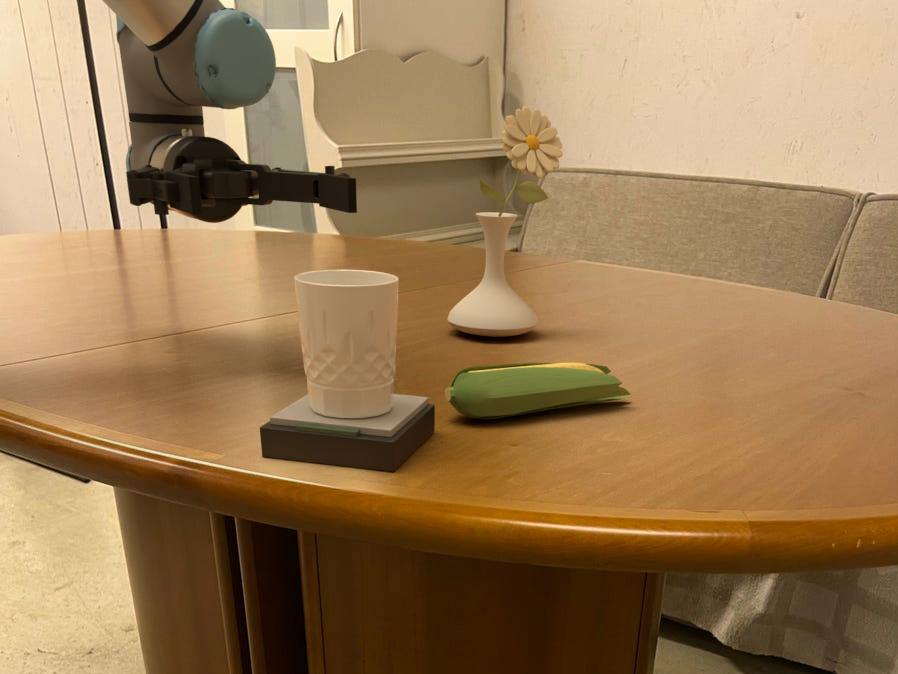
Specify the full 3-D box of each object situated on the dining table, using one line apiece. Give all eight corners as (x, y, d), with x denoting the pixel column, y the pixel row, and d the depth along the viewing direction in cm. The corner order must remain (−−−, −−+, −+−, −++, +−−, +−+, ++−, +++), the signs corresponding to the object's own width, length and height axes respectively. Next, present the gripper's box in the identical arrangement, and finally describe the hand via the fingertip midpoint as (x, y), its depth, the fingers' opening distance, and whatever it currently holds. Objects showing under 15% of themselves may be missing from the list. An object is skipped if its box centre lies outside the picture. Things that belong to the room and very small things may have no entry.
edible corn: (435, 415, 85) (435, 364, 82) (615, 394, 93) (620, 348, 91) (460, 431, 81) (461, 378, 78) (646, 408, 89) (651, 360, 87)
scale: (394, 472, 71) (393, 434, 69) (261, 456, 73) (258, 419, 72) (434, 431, 80) (435, 397, 79) (316, 419, 82) (314, 385, 81)
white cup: (328, 427, 70) (321, 288, 65) (286, 402, 76) (277, 272, 71) (418, 413, 74) (417, 281, 69) (372, 390, 80) (368, 267, 75)
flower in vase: (453, 344, 111) (457, 103, 99) (441, 324, 121) (444, 103, 108) (559, 343, 113) (576, 108, 101) (539, 325, 123) (552, 107, 110)
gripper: (59, 131, 84) (114, 140, 69) (314, 139, 96) (410, 148, 81) (73, 221, 88) (129, 248, 72) (318, 218, 100) (410, 241, 84)
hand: (277, 195), depth 76 cm, fingers open, 13 cm apart
